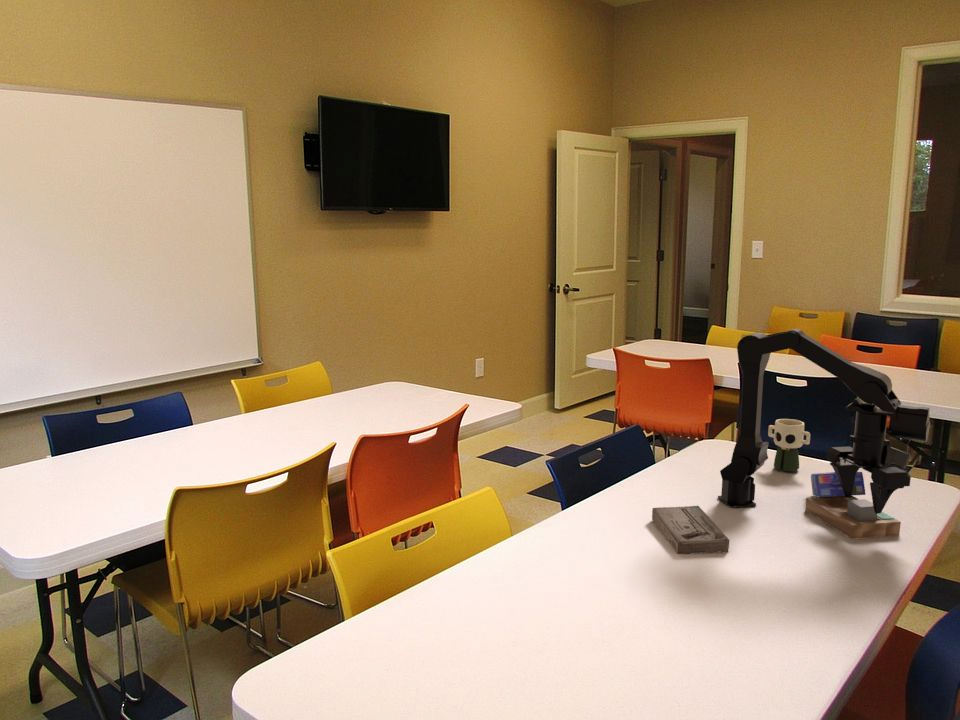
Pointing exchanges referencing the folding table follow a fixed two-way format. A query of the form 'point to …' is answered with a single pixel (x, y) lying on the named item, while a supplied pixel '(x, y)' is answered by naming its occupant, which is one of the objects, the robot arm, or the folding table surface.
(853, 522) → the socket block
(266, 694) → the folding table surface
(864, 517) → the plug
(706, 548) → the box
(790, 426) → the character mug
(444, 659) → the folding table surface
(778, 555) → the folding table surface
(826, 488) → the ink cartridge box
